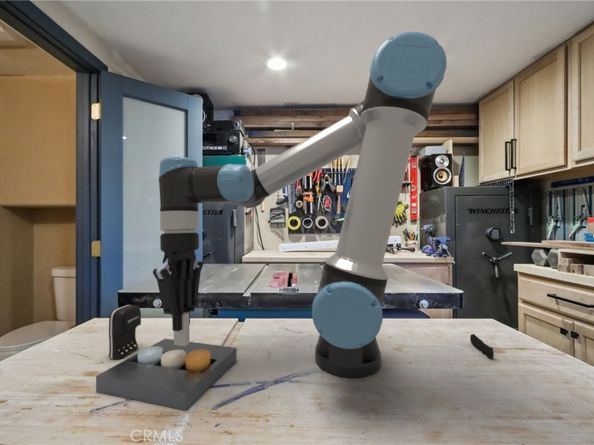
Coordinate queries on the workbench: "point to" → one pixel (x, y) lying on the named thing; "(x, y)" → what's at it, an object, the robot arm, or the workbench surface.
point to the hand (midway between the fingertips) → (181, 343)
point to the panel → (166, 377)
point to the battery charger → (123, 331)
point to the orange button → (198, 360)
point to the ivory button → (173, 359)
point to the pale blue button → (150, 355)
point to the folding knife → (482, 346)
